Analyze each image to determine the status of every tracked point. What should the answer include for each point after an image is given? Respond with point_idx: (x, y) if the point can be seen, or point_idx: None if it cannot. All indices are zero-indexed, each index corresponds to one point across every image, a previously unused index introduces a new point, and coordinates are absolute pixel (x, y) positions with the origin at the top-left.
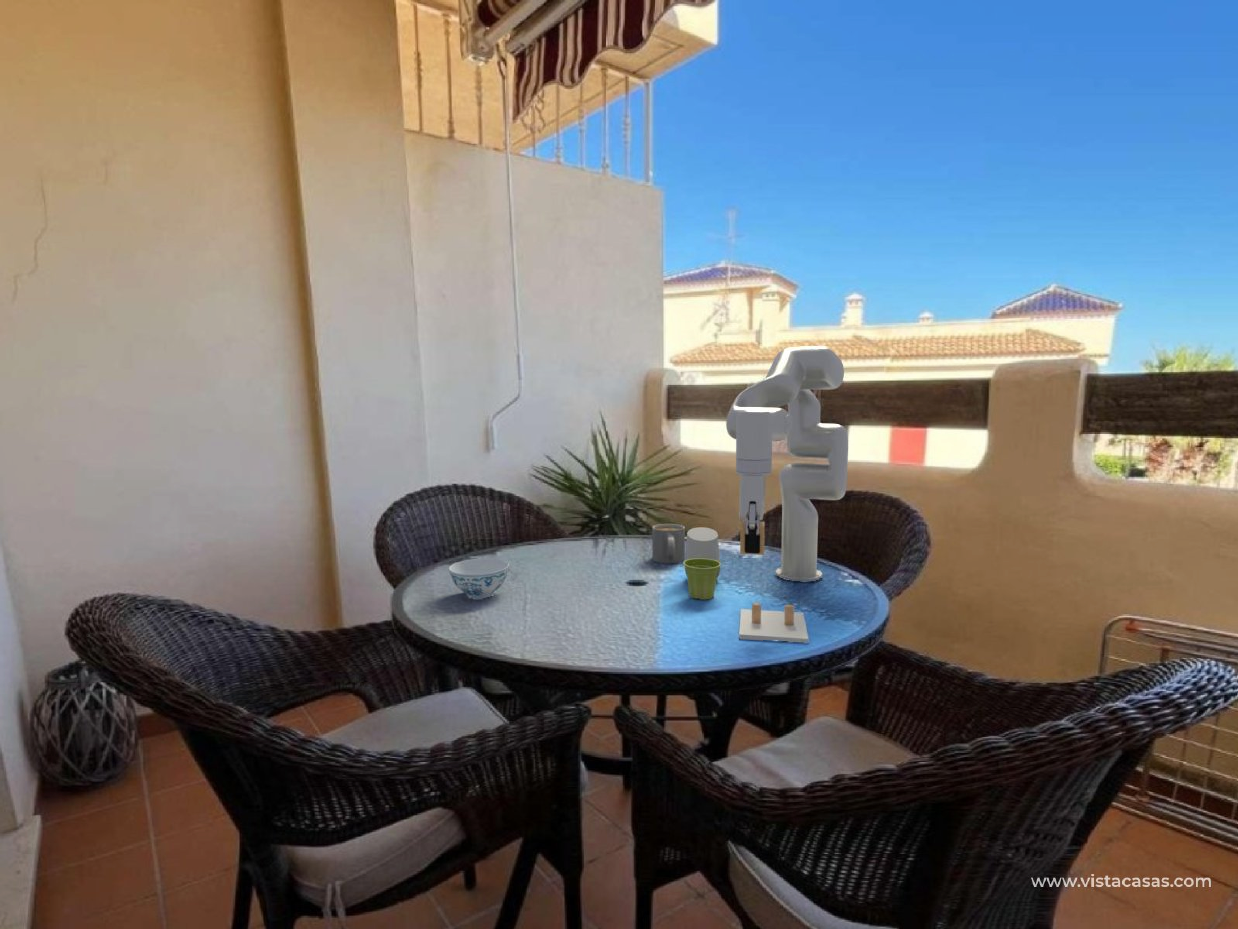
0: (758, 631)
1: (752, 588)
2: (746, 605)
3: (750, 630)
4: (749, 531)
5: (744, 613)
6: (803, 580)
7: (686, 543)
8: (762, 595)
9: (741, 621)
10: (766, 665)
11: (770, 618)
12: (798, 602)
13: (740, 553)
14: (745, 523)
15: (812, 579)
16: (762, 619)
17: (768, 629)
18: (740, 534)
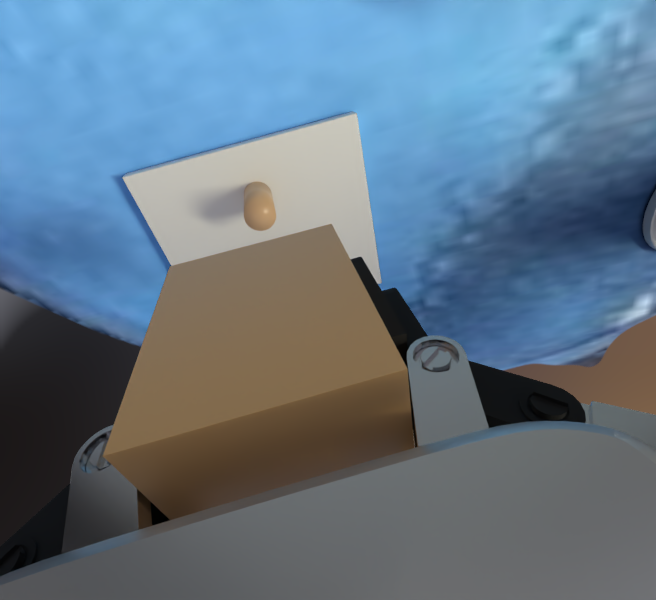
0: (184, 223)
1: (610, 78)
2: (434, 107)
3: (177, 200)
4: (49, 512)
5: (318, 138)
6: (648, 219)
7: None
8: (537, 133)
9: (238, 150)
10: (5, 288)
11: (306, 224)
12: (484, 242)
13: (170, 269)
14: (275, 444)
15: (649, 239)
16: (287, 206)
17: (216, 242)
18: (133, 369)
